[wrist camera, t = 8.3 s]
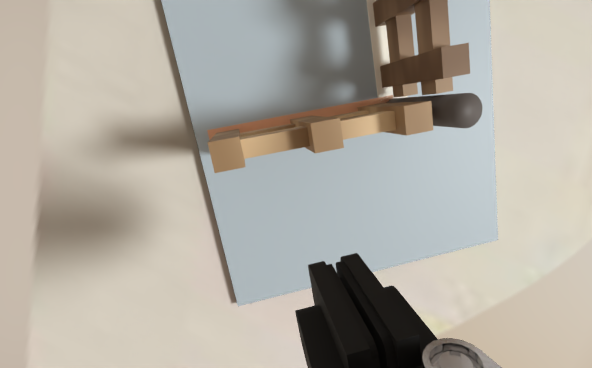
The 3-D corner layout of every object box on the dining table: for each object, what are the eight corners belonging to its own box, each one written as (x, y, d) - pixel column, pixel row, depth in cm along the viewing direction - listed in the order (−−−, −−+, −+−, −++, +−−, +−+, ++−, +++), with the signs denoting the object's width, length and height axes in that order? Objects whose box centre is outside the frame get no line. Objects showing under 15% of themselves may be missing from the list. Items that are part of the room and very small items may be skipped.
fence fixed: (358, -74, 18) (431, -185, 11) (383, -77, 18) (469, -188, 11) (381, 124, 20) (451, 131, 14) (402, 119, 21) (483, 124, 14)
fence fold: (379, 103, 19) (433, 100, 14) (381, 124, 19) (435, 130, 14) (216, 132, 18) (207, 142, 13) (221, 154, 18) (214, 173, 13)
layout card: (149, -52, 16) (146, -57, 16) (481, -93, 19) (487, -98, 18) (238, 302, 21) (237, 307, 21) (493, 237, 23) (499, 240, 23)
